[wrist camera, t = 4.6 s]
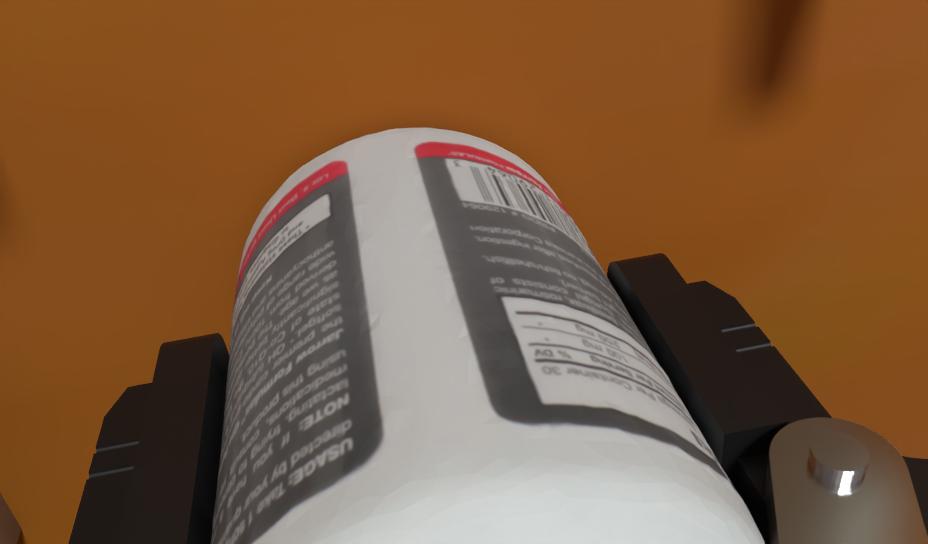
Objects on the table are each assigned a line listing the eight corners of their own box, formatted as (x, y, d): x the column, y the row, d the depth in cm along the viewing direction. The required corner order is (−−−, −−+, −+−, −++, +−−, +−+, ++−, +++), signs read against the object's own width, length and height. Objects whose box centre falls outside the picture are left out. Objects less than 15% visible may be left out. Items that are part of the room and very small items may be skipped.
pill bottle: (313, 438, 15) (336, 1282, 7) (176, 185, 12) (-83, 1154, 4) (597, 344, 15) (972, 1073, 7) (534, 67, 12) (1073, 772, 4)
